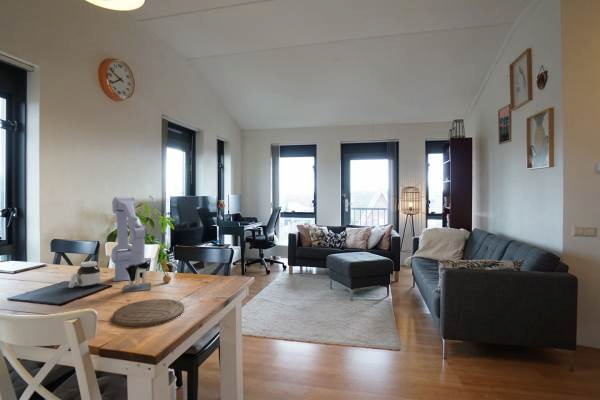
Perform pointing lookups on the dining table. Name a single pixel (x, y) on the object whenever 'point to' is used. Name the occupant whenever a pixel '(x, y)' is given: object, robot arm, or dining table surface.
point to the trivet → (148, 312)
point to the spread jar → (86, 275)
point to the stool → (139, 276)
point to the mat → (136, 287)
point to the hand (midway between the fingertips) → (137, 279)
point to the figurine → (166, 277)
